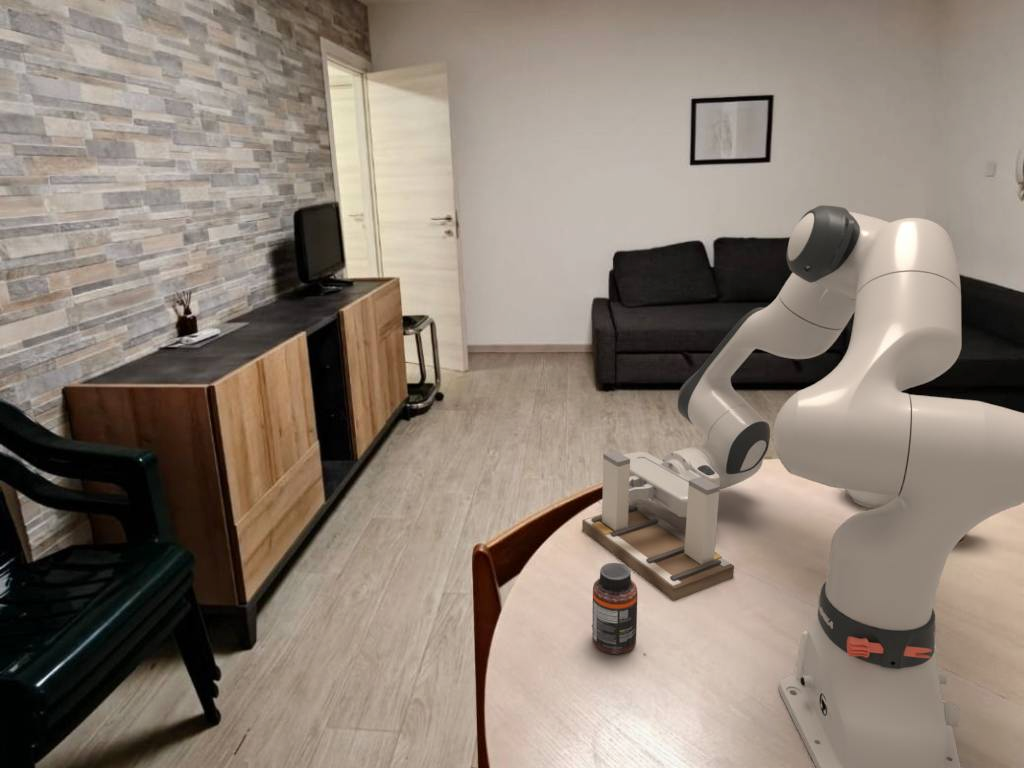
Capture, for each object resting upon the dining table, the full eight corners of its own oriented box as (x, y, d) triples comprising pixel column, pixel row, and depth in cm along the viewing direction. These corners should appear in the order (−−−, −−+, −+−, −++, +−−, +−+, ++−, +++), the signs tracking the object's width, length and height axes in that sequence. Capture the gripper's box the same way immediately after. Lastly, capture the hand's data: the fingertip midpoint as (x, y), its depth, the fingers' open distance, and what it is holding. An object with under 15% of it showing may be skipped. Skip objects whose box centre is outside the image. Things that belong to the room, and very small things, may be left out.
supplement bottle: (609, 622, 103) (611, 552, 100) (644, 641, 99) (648, 569, 96) (583, 643, 99) (584, 570, 96) (618, 663, 95) (621, 588, 92)
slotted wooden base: (733, 577, 113) (734, 562, 113) (673, 600, 108) (674, 585, 107) (636, 513, 133) (637, 500, 133) (582, 530, 128) (582, 517, 127)
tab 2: (713, 560, 114) (719, 486, 110) (701, 564, 113) (707, 490, 109) (696, 548, 117) (701, 476, 113) (684, 553, 116) (688, 480, 112)
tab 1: (627, 527, 124) (630, 459, 120) (615, 531, 123) (617, 462, 119) (613, 518, 127) (615, 450, 123) (602, 521, 126) (603, 453, 122)
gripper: (647, 439, 138) (587, 454, 132) (726, 479, 121) (661, 499, 115) (646, 469, 140) (586, 486, 134) (723, 513, 123) (659, 535, 117)
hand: (621, 492), depth 124 cm, fingers closed, pressing on tab 1
